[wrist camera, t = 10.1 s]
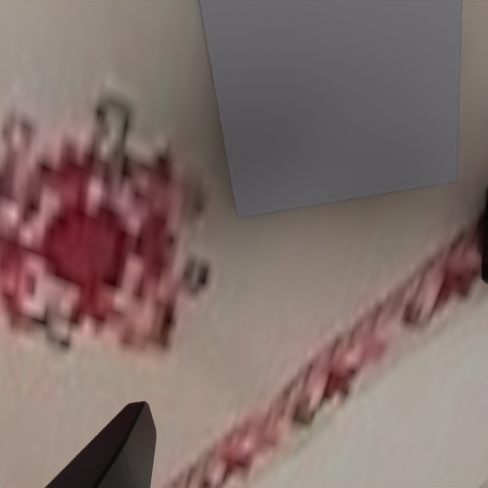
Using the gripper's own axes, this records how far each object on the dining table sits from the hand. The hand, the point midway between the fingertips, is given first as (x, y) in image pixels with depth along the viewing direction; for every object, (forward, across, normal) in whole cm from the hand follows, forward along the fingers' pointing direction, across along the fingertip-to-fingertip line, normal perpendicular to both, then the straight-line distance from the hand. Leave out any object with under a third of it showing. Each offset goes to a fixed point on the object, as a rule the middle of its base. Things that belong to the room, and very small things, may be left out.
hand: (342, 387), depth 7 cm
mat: (+13, -4, -8) cm, 16 cm away
